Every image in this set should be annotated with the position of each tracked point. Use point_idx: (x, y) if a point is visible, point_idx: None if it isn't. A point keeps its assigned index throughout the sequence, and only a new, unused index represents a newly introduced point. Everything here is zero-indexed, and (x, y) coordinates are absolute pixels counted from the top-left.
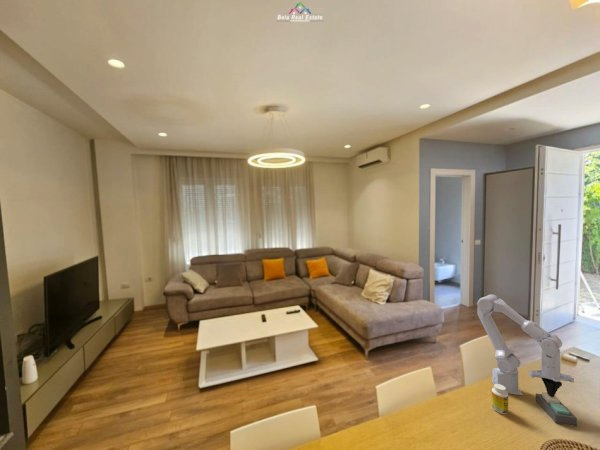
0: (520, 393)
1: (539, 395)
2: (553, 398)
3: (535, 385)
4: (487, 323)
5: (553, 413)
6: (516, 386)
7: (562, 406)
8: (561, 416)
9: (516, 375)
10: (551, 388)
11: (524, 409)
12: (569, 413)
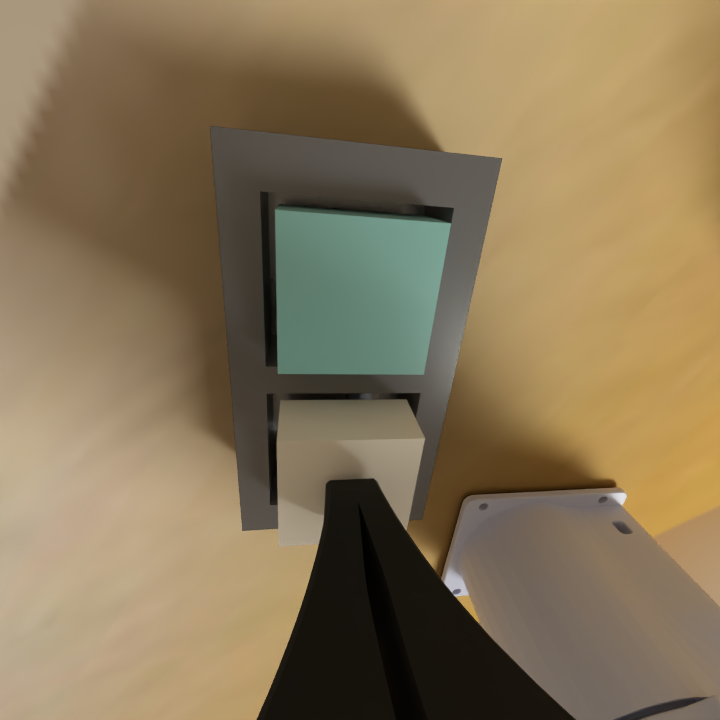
0: (478, 508)
1: None
2: (345, 456)
3: (277, 621)
4: None
5: (485, 206)
6: (533, 562)
7: (299, 337)
8: (421, 152)
9: (623, 711)
10: (426, 619)
11: (594, 325)
12: (279, 206)
